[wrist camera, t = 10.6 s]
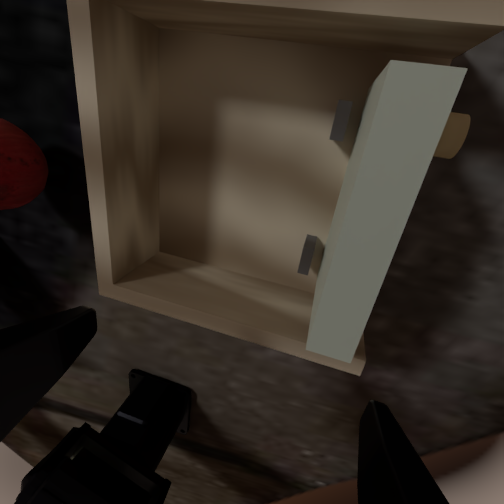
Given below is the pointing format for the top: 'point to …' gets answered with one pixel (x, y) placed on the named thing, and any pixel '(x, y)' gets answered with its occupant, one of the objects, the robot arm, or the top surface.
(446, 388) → the top surface
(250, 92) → the beige shallow square box
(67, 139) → the top surface
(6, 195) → the red oval fruit
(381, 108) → the door
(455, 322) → the top surface
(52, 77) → the top surface
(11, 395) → the robot arm
